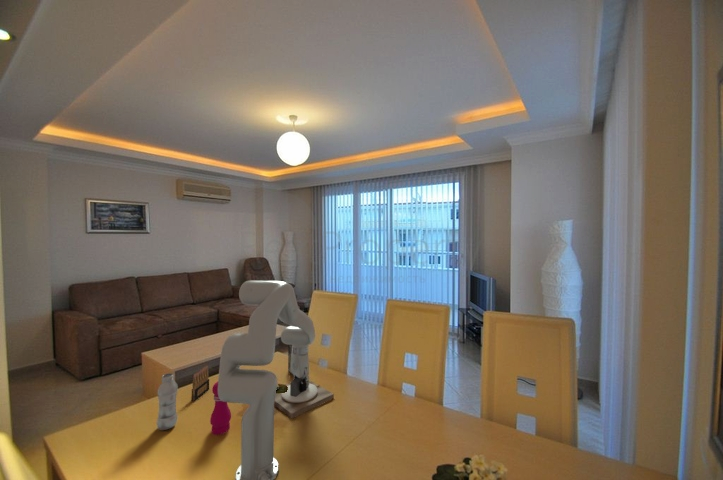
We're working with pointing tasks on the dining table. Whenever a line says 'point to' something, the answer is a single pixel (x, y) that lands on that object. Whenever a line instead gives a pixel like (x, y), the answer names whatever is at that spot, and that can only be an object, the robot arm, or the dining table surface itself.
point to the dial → (294, 392)
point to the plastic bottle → (167, 403)
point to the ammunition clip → (200, 384)
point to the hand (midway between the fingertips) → (300, 388)
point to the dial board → (302, 407)
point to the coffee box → (289, 357)
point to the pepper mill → (220, 414)
